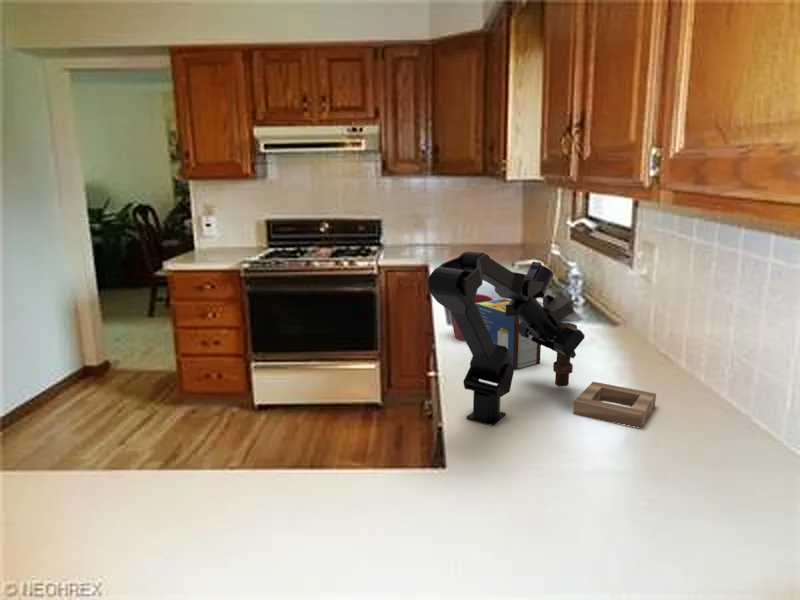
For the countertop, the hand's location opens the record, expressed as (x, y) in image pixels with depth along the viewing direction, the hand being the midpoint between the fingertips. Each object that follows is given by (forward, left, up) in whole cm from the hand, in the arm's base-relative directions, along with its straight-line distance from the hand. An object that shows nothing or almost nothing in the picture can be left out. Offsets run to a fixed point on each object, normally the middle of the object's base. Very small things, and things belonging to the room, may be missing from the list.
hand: (568, 354), depth 144 cm
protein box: (+12, +21, -9) cm, 26 cm away
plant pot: (+26, +39, -9) cm, 48 cm away
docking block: (-7, -13, -9) cm, 17 cm away
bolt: (-1, +1, -8) cm, 8 cm away
